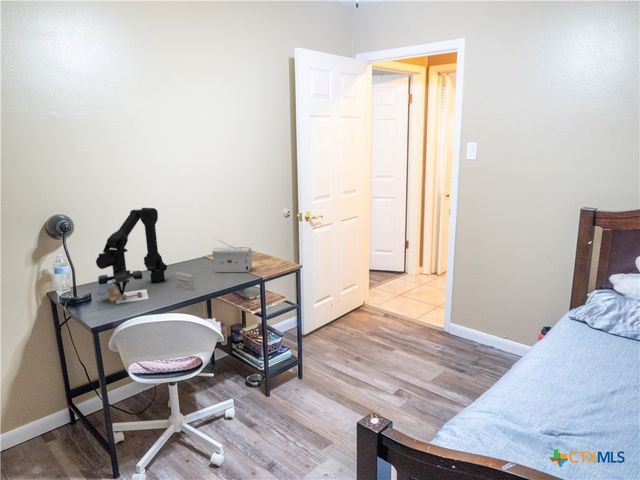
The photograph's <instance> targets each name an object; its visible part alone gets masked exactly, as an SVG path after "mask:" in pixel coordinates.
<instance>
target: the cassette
mask: <svg viewBox="0 0 640 480" xmlns="http://www.w3.org/2000/svg"><path fill="white" fill-rule="evenodd" d="M174 276H175V277H174V278H175V286H176V288H179V289H183V290H188V291H195V286H194V285H195V283H194V276H193V275H192V274H187V273H182V272H178V271H176V272H174Z"/></svg>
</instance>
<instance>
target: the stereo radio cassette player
mask: <svg viewBox="0 0 640 480" xmlns="http://www.w3.org/2000/svg"><path fill="white" fill-rule="evenodd" d="M213 239H214V240H216V241H219V242H220V243H222V244H224V245H227V246H229V247H227V246H226V247H223V246H222V247H213V249H212V250H211V251H212V260H213V261H212V262H213V270H214V272H215V273H216V274H217V273H248V272H250V271H251V270H252V268H253V259H252V248H251V247H250V246H243V247H242V246H240V247H239V246H238V247H237V246H236V247H235V246H232V245H230V244H229V243H227V242H223V241H221V240H220V239H217V238H215V237H214V238H213Z"/></svg>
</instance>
